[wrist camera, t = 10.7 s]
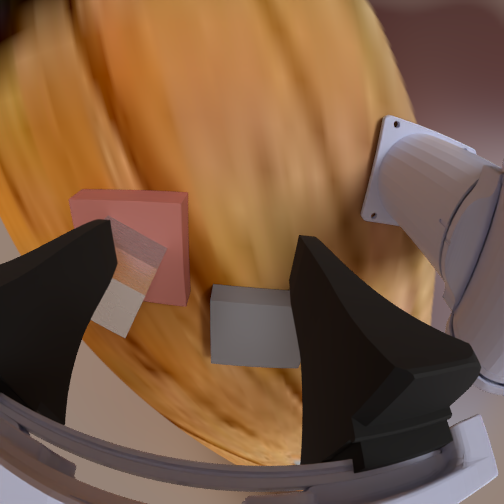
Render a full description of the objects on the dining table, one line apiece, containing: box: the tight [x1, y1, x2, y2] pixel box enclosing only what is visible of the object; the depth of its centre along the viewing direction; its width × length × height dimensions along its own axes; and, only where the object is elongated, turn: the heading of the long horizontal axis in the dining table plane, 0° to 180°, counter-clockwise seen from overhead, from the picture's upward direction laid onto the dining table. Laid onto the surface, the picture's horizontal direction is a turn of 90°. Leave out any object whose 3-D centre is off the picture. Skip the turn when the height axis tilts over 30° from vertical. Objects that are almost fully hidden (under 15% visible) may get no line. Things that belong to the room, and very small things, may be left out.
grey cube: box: [91, 215, 167, 338], centre depth 17 cm, size 5×5×5 cm
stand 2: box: [210, 284, 301, 368], centre depth 25 cm, size 9×9×2 cm
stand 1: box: [69, 189, 190, 307], centre depth 20 cm, size 9×9×2 cm
